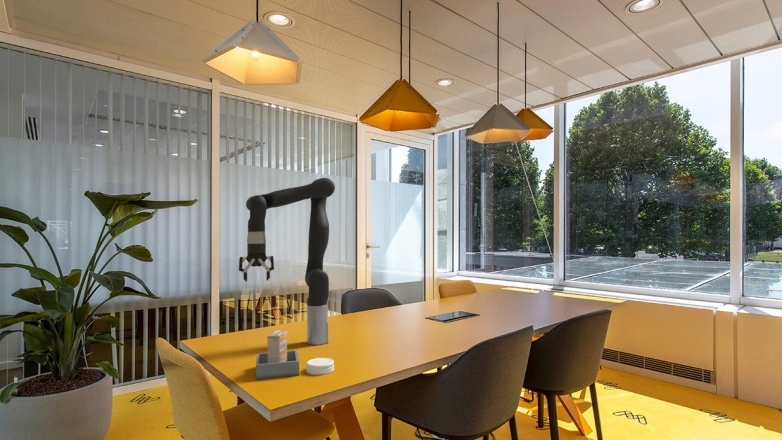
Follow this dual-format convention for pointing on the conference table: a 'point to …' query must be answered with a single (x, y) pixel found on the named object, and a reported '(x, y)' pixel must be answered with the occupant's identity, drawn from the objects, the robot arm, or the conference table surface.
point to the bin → (277, 366)
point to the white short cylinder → (320, 366)
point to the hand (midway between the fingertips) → (256, 280)
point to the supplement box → (277, 347)
